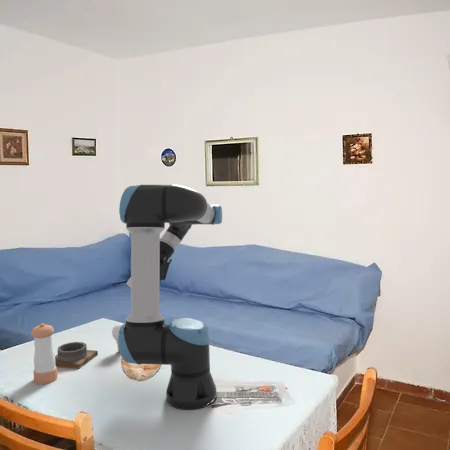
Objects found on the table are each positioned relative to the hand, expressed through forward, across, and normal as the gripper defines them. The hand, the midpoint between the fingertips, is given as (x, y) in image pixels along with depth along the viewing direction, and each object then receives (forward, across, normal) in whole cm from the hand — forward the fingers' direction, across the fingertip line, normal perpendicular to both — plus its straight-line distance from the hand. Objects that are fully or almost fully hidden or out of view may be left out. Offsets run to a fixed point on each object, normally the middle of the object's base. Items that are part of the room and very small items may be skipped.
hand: (137, 289), depth 176 cm
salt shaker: (+43, -4, +12) cm, 45 cm away
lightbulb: (+22, 0, -10) cm, 25 cm away
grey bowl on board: (+34, +5, +3) cm, 34 cm away
